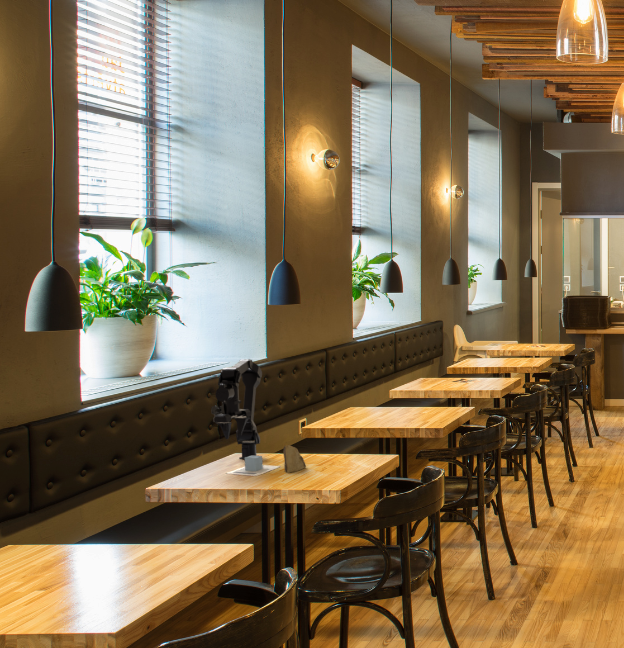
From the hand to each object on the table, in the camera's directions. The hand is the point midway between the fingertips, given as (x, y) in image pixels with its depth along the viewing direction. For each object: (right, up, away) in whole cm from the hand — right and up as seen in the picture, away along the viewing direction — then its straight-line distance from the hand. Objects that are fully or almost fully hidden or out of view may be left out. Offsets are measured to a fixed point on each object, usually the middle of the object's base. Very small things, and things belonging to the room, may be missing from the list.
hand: (233, 437), depth 326 cm
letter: (+9, -12, -9) cm, 17 cm away
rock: (+25, -11, -12) cm, 30 cm away
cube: (+9, -12, -9) cm, 17 cm away
